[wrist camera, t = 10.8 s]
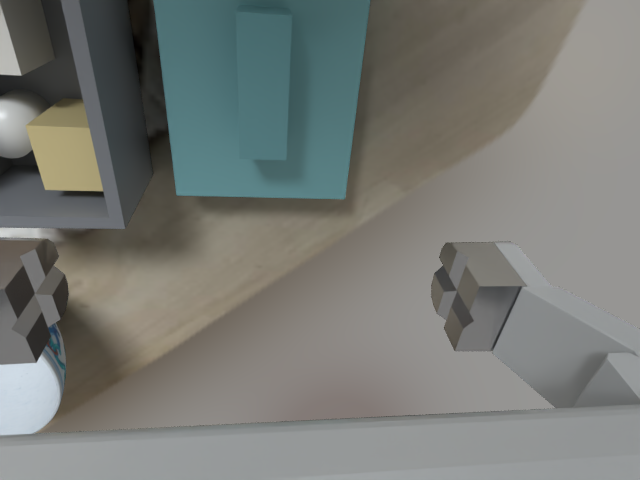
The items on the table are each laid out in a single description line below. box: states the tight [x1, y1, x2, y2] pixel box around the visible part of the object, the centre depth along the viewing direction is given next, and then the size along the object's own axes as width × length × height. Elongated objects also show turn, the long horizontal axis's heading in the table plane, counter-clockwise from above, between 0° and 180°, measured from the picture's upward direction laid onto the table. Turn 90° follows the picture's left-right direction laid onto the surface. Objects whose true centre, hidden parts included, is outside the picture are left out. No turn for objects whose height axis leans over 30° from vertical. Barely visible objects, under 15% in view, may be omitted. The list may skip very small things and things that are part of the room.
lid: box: [153, 0, 370, 199], centre depth 23 cm, size 15×11×6 cm
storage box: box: [0, 0, 153, 229], centre depth 22 cm, size 13×9×7 cm
